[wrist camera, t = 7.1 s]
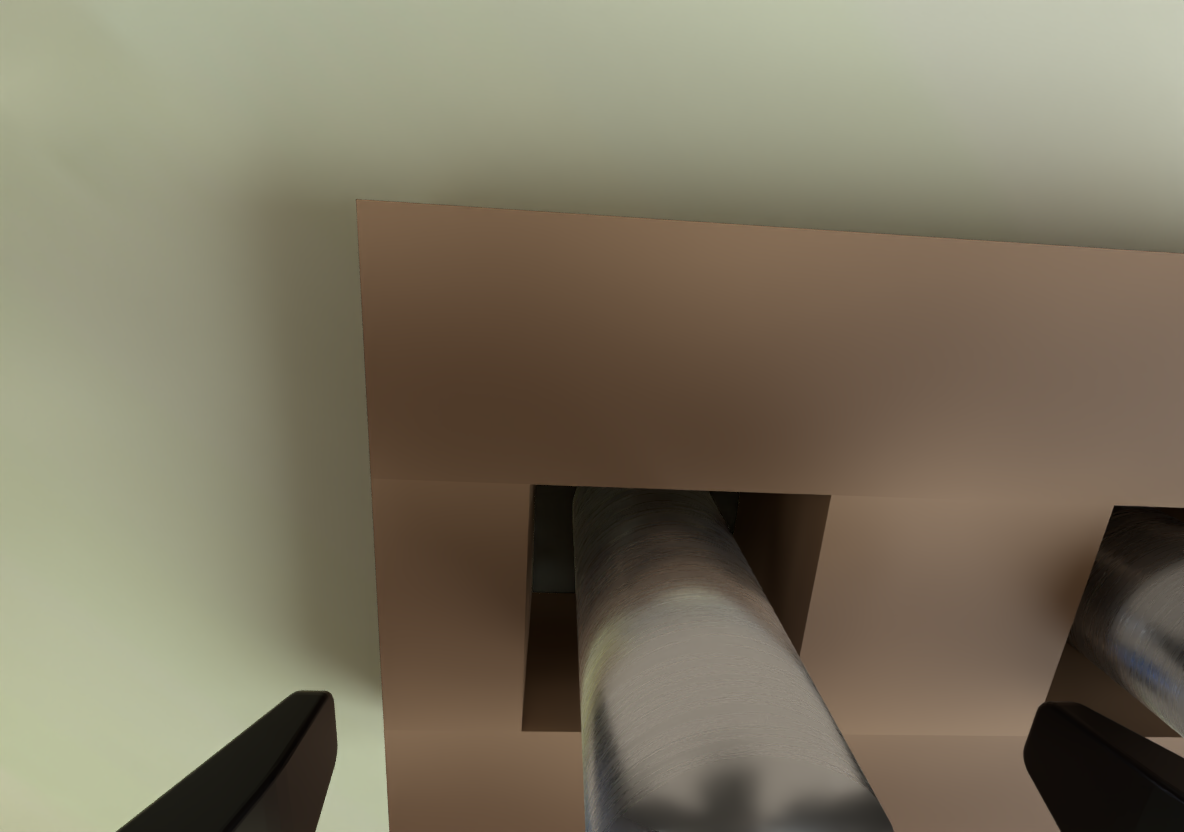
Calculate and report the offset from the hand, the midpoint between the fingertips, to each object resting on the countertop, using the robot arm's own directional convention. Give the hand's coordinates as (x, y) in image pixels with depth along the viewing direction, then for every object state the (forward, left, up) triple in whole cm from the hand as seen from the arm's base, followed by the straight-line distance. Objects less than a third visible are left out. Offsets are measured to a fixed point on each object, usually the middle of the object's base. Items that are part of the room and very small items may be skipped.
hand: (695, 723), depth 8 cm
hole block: (-4, 0, -6) cm, 8 cm away
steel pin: (0, 0, -6) cm, 6 cm away
